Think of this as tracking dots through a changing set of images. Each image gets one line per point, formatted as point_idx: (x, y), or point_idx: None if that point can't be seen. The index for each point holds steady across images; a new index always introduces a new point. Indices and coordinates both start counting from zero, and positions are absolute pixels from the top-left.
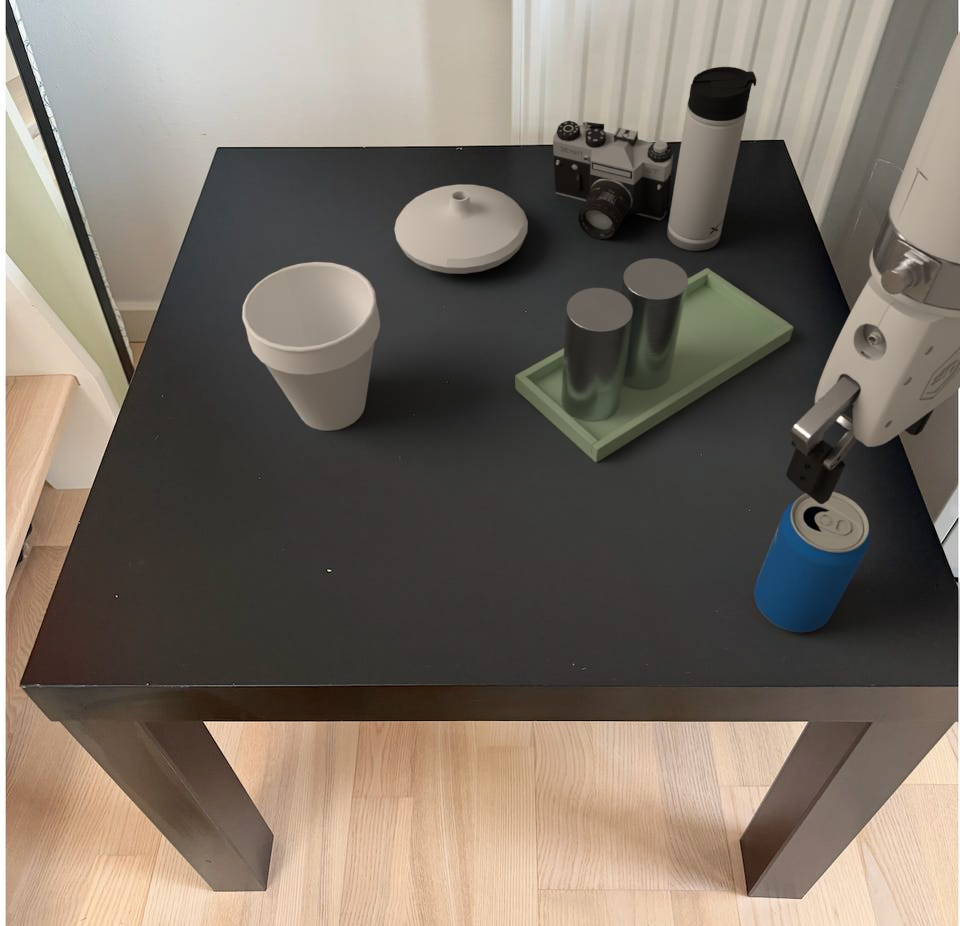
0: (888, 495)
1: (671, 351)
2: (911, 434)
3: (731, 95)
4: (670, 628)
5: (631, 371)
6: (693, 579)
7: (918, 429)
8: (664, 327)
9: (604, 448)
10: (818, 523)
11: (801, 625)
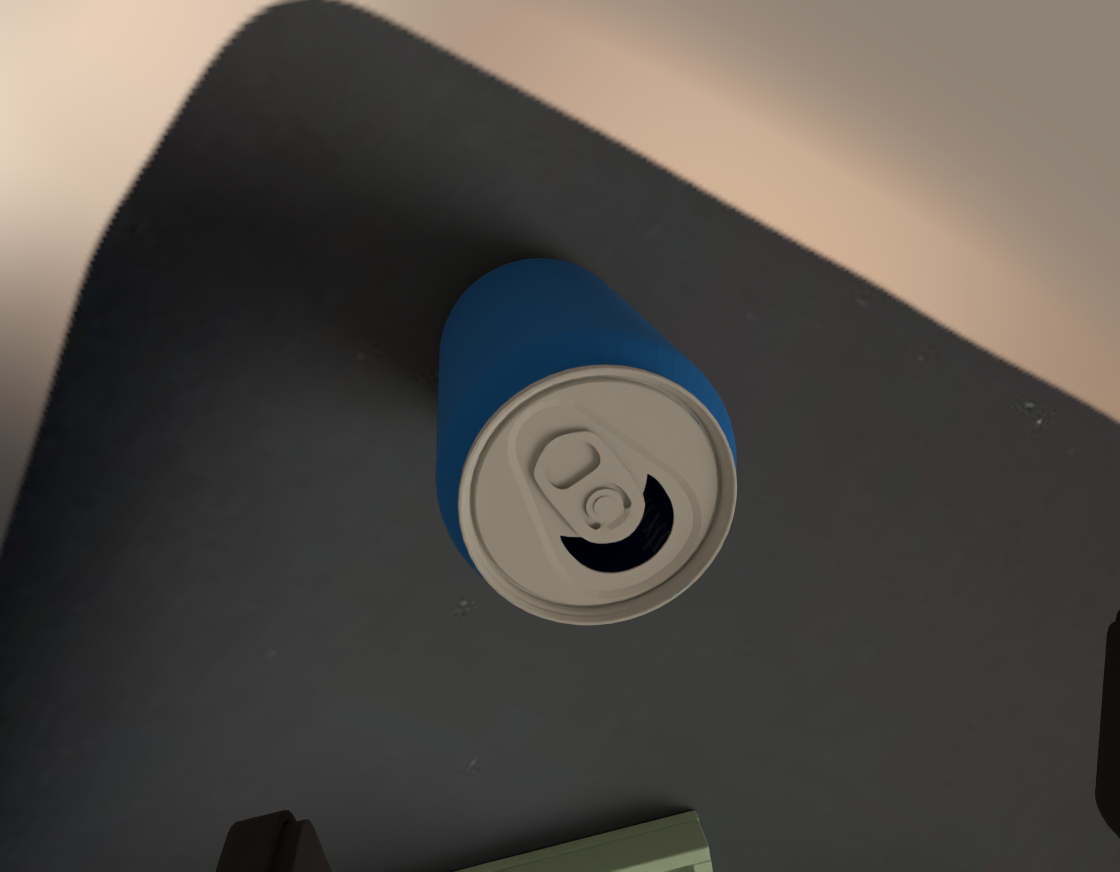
0: (87, 514)
1: None
2: (307, 822)
3: None
4: (821, 411)
5: None
6: None
7: (268, 856)
8: None
9: (684, 842)
10: (639, 507)
11: (598, 278)
